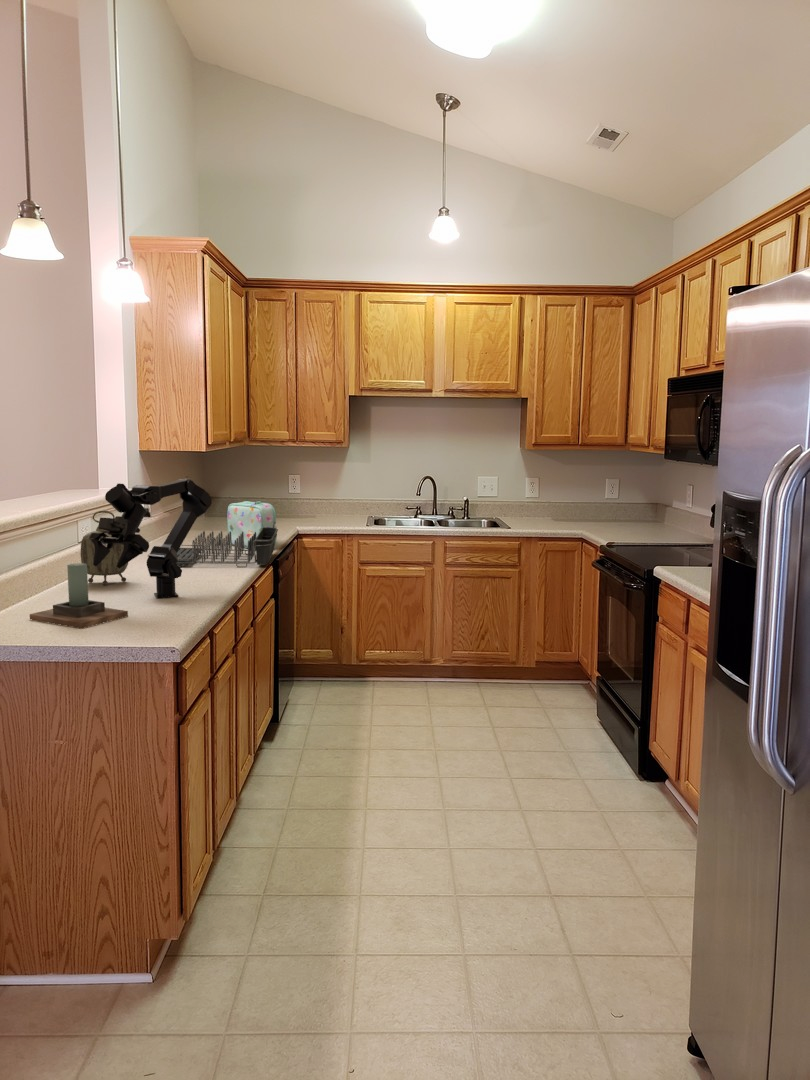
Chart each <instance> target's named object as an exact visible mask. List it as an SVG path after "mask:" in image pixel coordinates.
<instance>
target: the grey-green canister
mask: <svg viewBox="0 0 810 1080" xmlns="http://www.w3.org/2000/svg"><path fill="white" fill-rule="evenodd" d="M66 567H67V568H66V569H67V585H68V586H67V587H68V602H69V606H70V607H76V608H78V607H83V606H87V605H89V601H88V600H89V585H88V584H89V582H88V579H89V578H88V574H87V564H84V563H81V562H79V563H69V564H67V566H66Z"/></svg>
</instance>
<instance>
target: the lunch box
mask: <svg viewBox="0 0 810 1080" xmlns="http://www.w3.org/2000/svg"><path fill="white" fill-rule="evenodd" d="M226 513H227V515H226V517H227V520H226V521H227V524H226V525H227V527H226V528H227V534H228V533H229V532H230V531H231V539H232V546H234V542H235V540H236V538H238V536H240V534H242V531H243V535H244V549H248V540H249V541H250V538H251V537H252V536H253V534H254V533H255V532H256V537H257V536H258V534H259V532H260V531H261V529H262V527H270V528H276V529H278V527H277V516H276V515H277V513H276V509H275V507H274V506H273V504H270V503H269V502H261V501H260V500H259V501H248V500H246V501H245V500H244V501H241V502H240V501H239V502H233V503H230V504H229V505H228V507H227V512H226ZM277 537H278V535H277V536H276V538H275V545H277ZM230 544H231V540H230Z"/></svg>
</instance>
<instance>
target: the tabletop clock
mask: <svg viewBox="0 0 810 1080" xmlns="http://www.w3.org/2000/svg"><path fill="white" fill-rule="evenodd" d="M103 513H105V514H110V515H111V516H112V518H114V519H115V517H116V516H115V515H114V513H113V512H111V511H109V510H99V511H96V512H95V513H94V514H93V515H92V520H93V521H94V522H95V523H98V524H99V520H97V519H95V516H97V514H98V515H99V514H103ZM93 532H104V533H105V534H106V535H107V536H108V537H111V535H109V534H108V533H107V530H104V529H98V526H97V527H96V529H95V531H94V530H93V531H90V532H88V533H86V534H84V535H83V536H82V538H81V541H80V553H79V554H80V563H84V564H87V575H90V577H89V578H88V584H90V583H91V584H92V583H93V582H94V576H103V581H102V585H104V586H107V585H108V584H109V581H107V576H115V575H118V576H119V577H120V579H121V581H120V582H122V583H124V582H126V581H127V578H126V577H125V576H123V575H122V573H124V572H125V571H126V569H128V565H129V562H128V563H126V564H125V565H124V566H122V567H121V568H117V563H118V561H119V559H120V556H121V554H122V552H123V550H124V545H117V544H113V546H112V548H111V549H109V550H110V552H109V553H108V555H107V556H106V557H105V558H104V559H103V560H102V561H101V562H100V563H99V564H98V565H97V566H94V565H93V561H94V554H95V546H94V544H93V543H92V542H91V540H89V537H90V535H91V534H92V533H93Z"/></svg>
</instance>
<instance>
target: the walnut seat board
mask: <svg viewBox="0 0 810 1080" xmlns="http://www.w3.org/2000/svg"><path fill="white" fill-rule="evenodd" d="M88 601H89V605H87V606H83V607H78V608H76V607H70V606H69V601H65V602H61V603H56V604H53V605H52V608H51V609H46V610H43V611H39V612H38V611H37V612H33V613H29V620H30V619H32V620H31V621H35V620H38V621H37V622H41V621H42V623H46V622H49V623H48V624H52V623H55V624H54V625H58V624H61V625H60V626H63V625H67V626H66V627H69V626H73V627H72V628H75V627H79V628H78V629H80V628H82V629H85V628H84V627H86V628H89V627H88V626H90V627H93V626H92V625H94V626H96V624H97V625H100V623H101V624H104V623H103V622H105V623H108V622H112V621H115V619H116V620H118V618H119V619H123V618H126V617H125V616H127V617H128V616H129V615H128V614H129V613H128V612H129V611H128V610H123V609H118V608H117V609H116V608H110V607H105V606H106V605H105V601H104V602H103V601H98V600H90V599H88ZM122 617H123V618H122ZM111 620H112V621H111ZM107 621H108V622H107Z"/></svg>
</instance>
